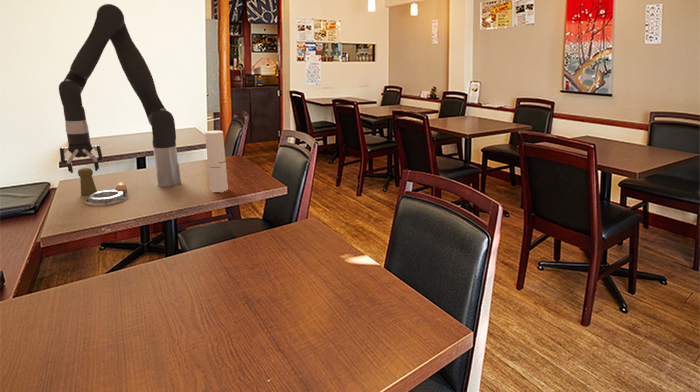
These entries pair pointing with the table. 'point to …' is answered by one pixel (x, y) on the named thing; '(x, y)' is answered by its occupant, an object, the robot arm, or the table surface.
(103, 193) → the flange seat
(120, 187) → the pipe stub
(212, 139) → the beige rectangular tower
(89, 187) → the cork
